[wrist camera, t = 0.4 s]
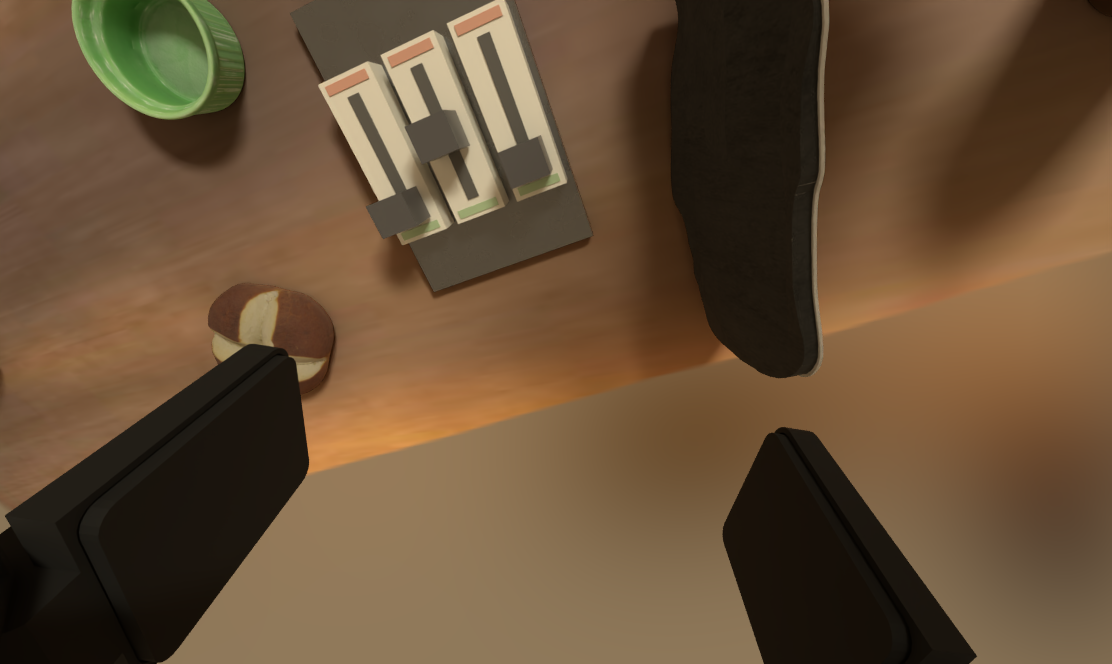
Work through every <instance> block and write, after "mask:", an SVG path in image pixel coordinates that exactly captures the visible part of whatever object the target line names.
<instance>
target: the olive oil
mask: <svg viewBox="0 0 1112 664" xmlns="http://www.w3.org/2000/svg"><path fill="white" fill-rule="evenodd" d="M1089 2H1090V3H1091V4H1092V5H1093V7H1094V8H1096V9H1097V10H1098V11H1100V12H1101V13H1103V14H1105V15H1108V16H1111V17H1112V0H1089Z"/></svg>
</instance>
